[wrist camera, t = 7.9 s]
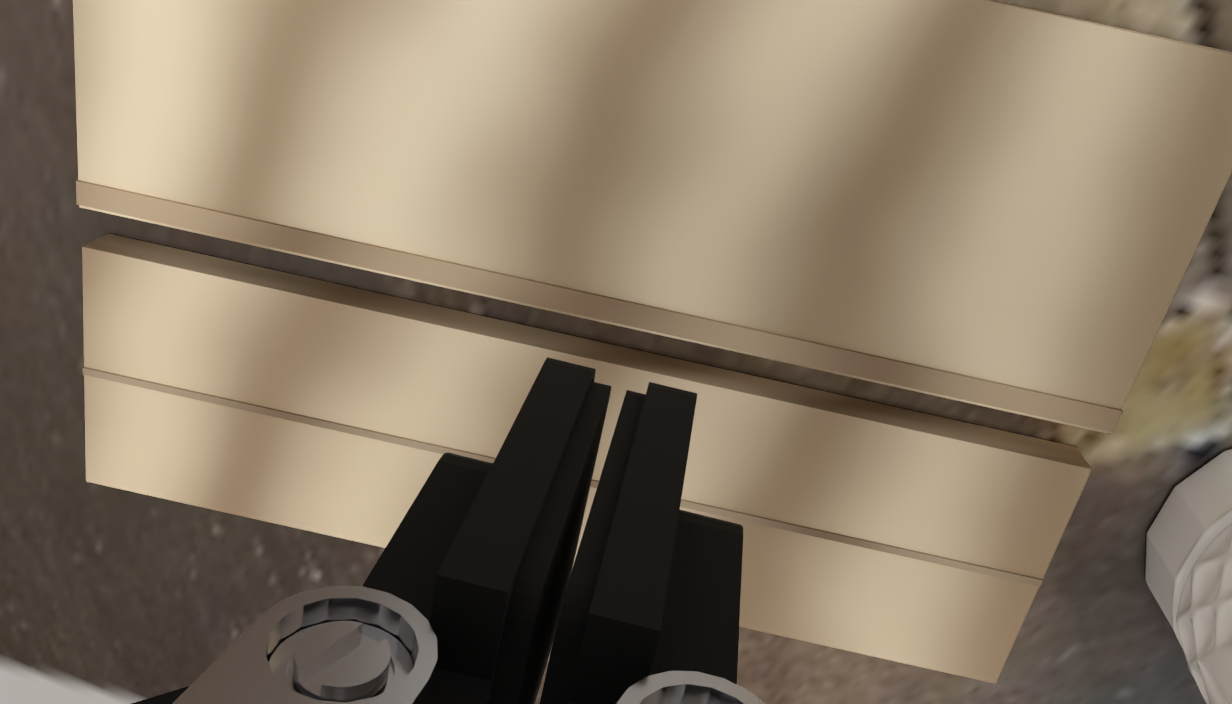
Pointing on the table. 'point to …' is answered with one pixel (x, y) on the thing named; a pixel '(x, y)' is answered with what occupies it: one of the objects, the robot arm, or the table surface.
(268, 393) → the laid board
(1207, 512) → the white cup
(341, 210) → the plank
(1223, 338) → the table surface
